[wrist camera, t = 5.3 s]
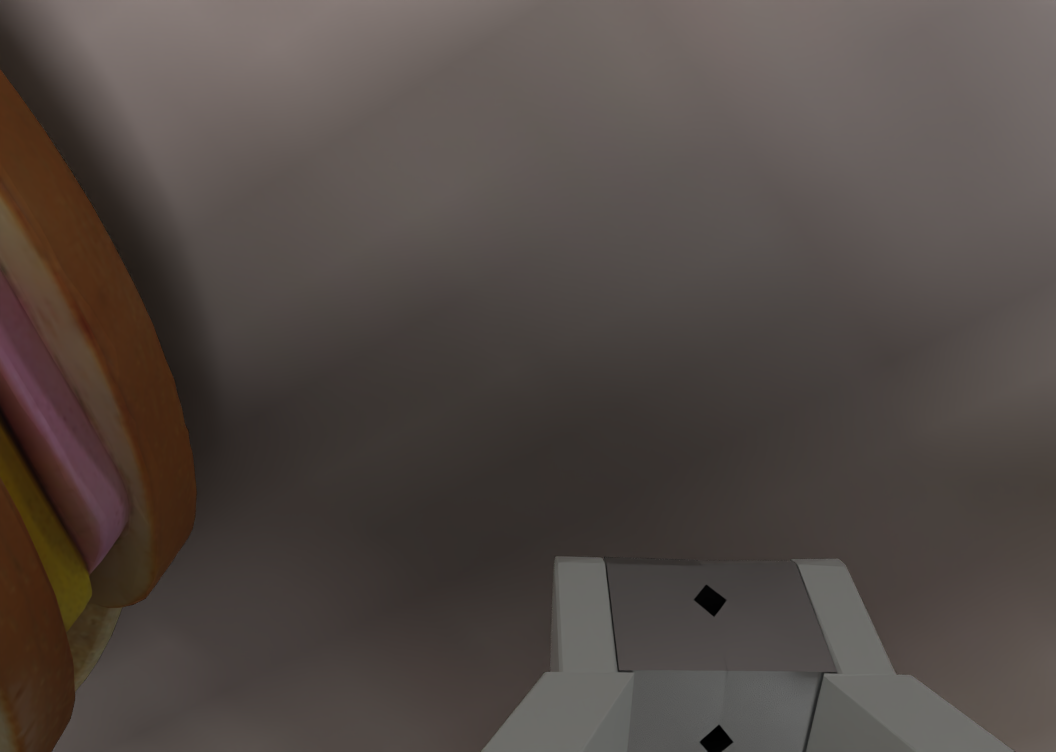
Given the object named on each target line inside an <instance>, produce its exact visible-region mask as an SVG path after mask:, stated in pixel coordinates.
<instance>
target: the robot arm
mask: <svg viewBox="0 0 1056 752" xmlns="http://www.w3.org/2000/svg"><path fill="white" fill-rule="evenodd" d="M481 752H1015V751H1013V750H1012V749H1011V748H1009V747H1008V746H1007V745H1005V744H1004V743H1003V742H1001V741H1000V740H999V739H997V738H996V737H995V736H993V735H992V734H990V733H989V732H988V731H986V730H985V729H984V728H982V727H981V726H980V725H978V724H977V723H976V722H974V721H973V720H972V719H970V718H969V717H967V716H966V715H965V714H963V713H962V712H961V711H959V710H958V709H957V708H955V707H954V706H953V705H951V704H950V703H949V702H947V701H946V700H944V699H943V698H942V697H940V696H939V695H938V694H936V693H935V692H934V691H932V690H931V689H930V688H928V687H927V686H926V685H924V684H923V683H921V682H920V681H919V680H917V679H916V678H915V677H913V676H912V675H896V673H895V670H894V668H893V666H892V664H891V662H890V660H889V657H888V655H887V653H886V651H885V649H884V647H883V644H882V642H881V640H880V638H879V636H878V634H877V631H876V629H875V627H874V625H873V623H872V621H871V618H870V616H869V614H868V612H867V610H866V608H865V605H864V603H863V601H862V599H861V597H860V595H859V592H858V590H857V588H856V586H855V584H854V581H853V579H852V577H851V575H850V573H849V571H848V568H847V566H846V564H844V563H843V562H842V561H841V560H839V559H791V560H790V561H787V560H686V559H655V558H623V557H604V559H602V558H601V557H565V556H555V561H554V571H553V596H552V621H551V655H550V672H544V674H543V675H542V676H541V677H540V679H539V680H538V681H537V682H536V684H535V685H534V686H533V687H532V689H531V690H530V691H529V692H528V694H527V695H526V696H525V697H524V699H523V700H522V701H521V702H520V703H519V705H518V706H517V707H516V708H515V710H514V711H513V712H512V713H511V715H510V716H509V717H508V718H507V720H506V721H505V722H504V723H503V725H502V726H501V727H500V728H499V730H498V731H497V732H496V733H495V735H494V736H493V737H492V738H491V740H490V741H489V742H488V743H487V744H486V746H485V747H484V748H483V749H482V751H481Z"/></svg>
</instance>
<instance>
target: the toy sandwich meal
mask: <svg viewBox="0 0 1056 752" xmlns="http://www.w3.org/2000/svg"><path fill="white" fill-rule="evenodd" d="M196 496H197V489H196V480H195V470H194V461H193V453H192V449H191V446H190V442H189V431H188V429H187V427H186V425H185V422H184V416H183V411H182V407H181V404H180V400H179V397H178V394H177V390H176V385H175V381H174V378H173V375H172V373H171V371H170V368H169V366H168V364H167V361H166V359H165V356H164V353H163V351H162V348H161V345H160V342H159V340H158V337H157V334H156V331H155V329H154V326H153V323H152V321H151V319H150V317H149V315H148V313H147V310H146V308H145V306H144V304H143V302H142V300H141V297H140V295H139V293H138V291H137V289H136V287H135V285H134V283H133V281H132V279H131V277H130V275H129V273H128V271H127V269H126V267H125V265H124V263H123V262H122V260H121V258H120V256H119V254H118V252H117V250H116V248H115V246H114V244H113V242H112V240H111V239H110V237H109V235H108V233H107V231H106V230H105V228H104V226H103V224H102V222H101V221H100V219H99V217H98V215H97V214H96V212H95V210H94V208H93V206H92V205H91V203H90V201H89V200H88V198H87V196H86V195H85V193H84V191H83V190H82V188H81V187H80V185H79V183H78V182H77V180H76V178H75V177H74V175H73V174H72V172H71V170H70V169H69V167H68V166H67V164H66V163H65V161H64V160H63V158H62V156H61V155H60V153H59V152H58V150H57V149H56V147H55V146H54V144H53V143H52V141H51V140H50V138H49V136H48V135H47V133H46V132H45V130H44V129H43V128H42V126H41V125H40V123H39V122H38V121H37V119H36V118H35V116H34V115H33V114H32V112H31V111H30V109H29V108H28V106H27V105H26V104H25V102H24V101H23V99H22V98H21V97H20V95H19V94H18V92H17V91H16V90H15V88H14V87H13V86H12V84H11V83H10V82H9V80H8V79H7V78H6V76H5V75H4V74H3V72H2V71H1V70H0V752H52V750H53V748H54V747H55V745H56V743H57V742H58V740H59V738H60V737H61V735H62V733H63V731H64V730H65V728H66V726H67V724H68V722H69V721H70V719H71V715H72V711H73V707H74V702H75V691H76V690H77V689H78V688H79V687H80V685H81V684H82V683H83V682H84V681H85V679H86V678H87V677H88V675H89V674H90V672H91V671H92V669H93V668H94V666H95V665H96V663H97V661H98V660H99V658H100V656H101V654H102V652H103V650H104V649H105V647H106V645H107V643H108V641H109V639H110V637H111V636H112V633H113V631H114V628H115V626H116V623H117V620H118V618H119V615H120V613H121V610H122V607H126V606H130V605H134V604H136V603H138V602H140V601H142V600H144V599H146V597H147V596H148V595H149V594H150V592H151V591H152V590H153V588H154V587H155V585H156V584H157V583H158V581H159V580H160V578H161V577H162V575H163V574H164V572H165V571H166V570H167V568H168V567H169V565H170V564H171V562H172V561H173V559H174V558H175V556H176V555H177V554H178V552H179V551H180V549H181V548H182V546H183V545H184V543H185V542H186V540H187V539H188V537H189V535H190V533H191V531H192V529H193V525H194V520H195V512H196Z"/></svg>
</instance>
